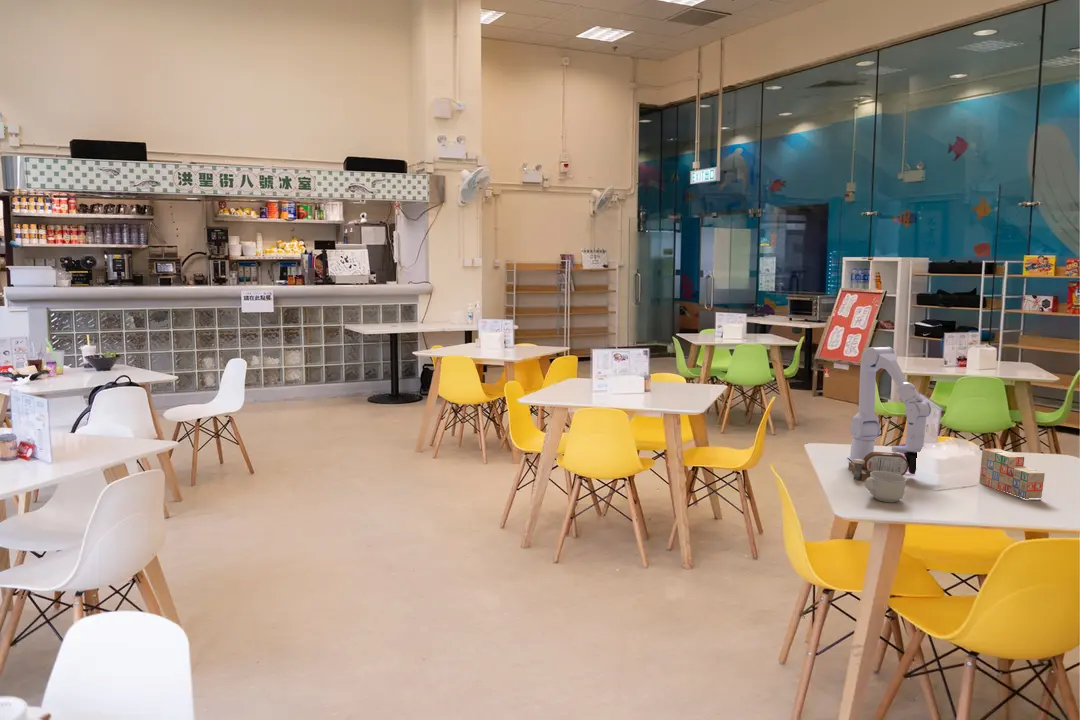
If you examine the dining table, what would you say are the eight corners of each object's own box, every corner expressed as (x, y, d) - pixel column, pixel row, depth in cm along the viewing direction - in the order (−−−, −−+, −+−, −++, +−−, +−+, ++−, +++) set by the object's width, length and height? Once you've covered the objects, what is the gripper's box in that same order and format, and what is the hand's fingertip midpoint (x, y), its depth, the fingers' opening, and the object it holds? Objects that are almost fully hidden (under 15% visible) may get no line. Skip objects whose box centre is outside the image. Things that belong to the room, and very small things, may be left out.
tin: (905, 476, 286) (907, 453, 285) (908, 478, 283) (910, 455, 282) (861, 473, 288) (863, 450, 287) (864, 476, 284) (866, 452, 283)
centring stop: (839, 468, 294) (841, 450, 294) (863, 469, 294) (865, 451, 293) (852, 480, 279) (854, 461, 278) (878, 481, 278) (880, 462, 277)
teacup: (891, 494, 263) (893, 470, 262) (912, 504, 253) (914, 479, 252) (852, 495, 261) (854, 470, 260) (871, 505, 250) (873, 480, 249)
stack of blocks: (1042, 500, 262) (1046, 463, 260) (1025, 501, 261) (1029, 463, 259) (994, 482, 283) (998, 447, 281) (978, 482, 282) (982, 448, 280)
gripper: (898, 436, 279) (894, 475, 281) (941, 438, 278) (937, 477, 280) (891, 432, 286) (887, 469, 288) (933, 434, 285) (929, 472, 287)
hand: (911, 473), depth 285 cm, fingers closed
